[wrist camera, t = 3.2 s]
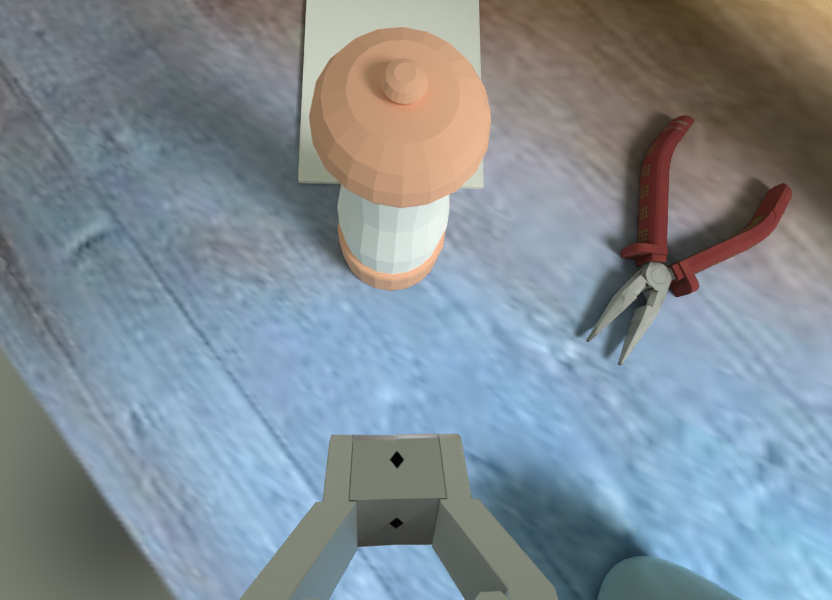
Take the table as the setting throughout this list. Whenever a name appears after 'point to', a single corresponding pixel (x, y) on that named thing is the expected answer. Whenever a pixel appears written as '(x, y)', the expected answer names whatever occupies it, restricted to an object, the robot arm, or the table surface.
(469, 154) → the pepper shaker
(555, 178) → the table surface
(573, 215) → the table surface
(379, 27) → the mat
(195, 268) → the table surface
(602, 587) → the cup
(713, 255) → the pliers
